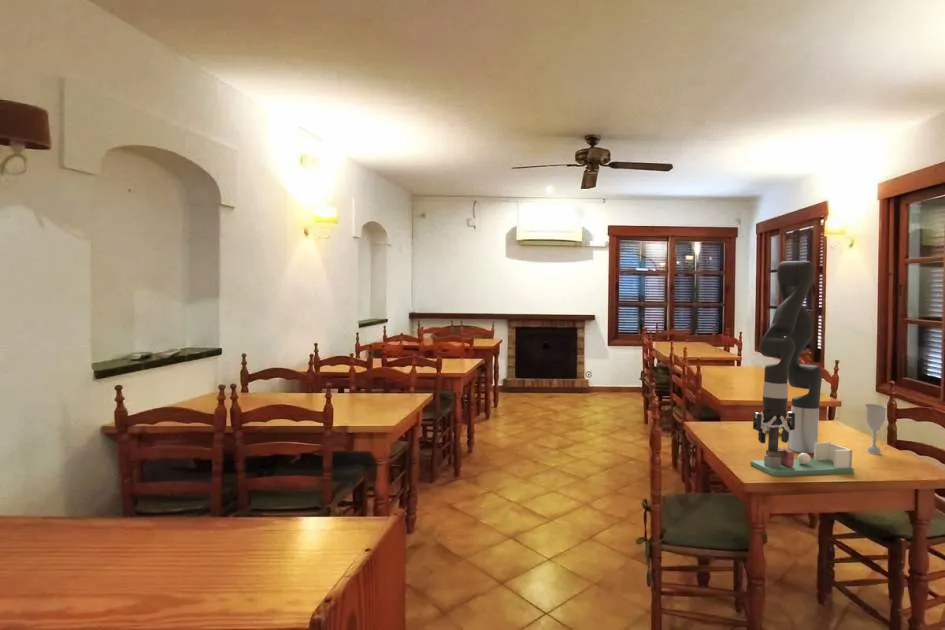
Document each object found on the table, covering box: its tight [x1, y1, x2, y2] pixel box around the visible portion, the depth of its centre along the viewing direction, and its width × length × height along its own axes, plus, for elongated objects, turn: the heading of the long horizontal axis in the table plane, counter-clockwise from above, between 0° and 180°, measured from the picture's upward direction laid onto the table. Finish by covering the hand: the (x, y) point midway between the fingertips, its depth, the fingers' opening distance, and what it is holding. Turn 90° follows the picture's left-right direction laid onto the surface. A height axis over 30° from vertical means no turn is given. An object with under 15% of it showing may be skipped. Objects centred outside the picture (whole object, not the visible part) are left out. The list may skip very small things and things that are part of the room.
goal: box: [813, 441, 853, 468], centre depth 197 cm, size 10×6×6 cm, turn 9°
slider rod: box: [765, 426, 795, 467], centre depth 193 cm, size 5×8×13 cm, turn 99°
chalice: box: [864, 403, 888, 455], centre depth 216 cm, size 7×7×18 cm
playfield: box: [749, 454, 855, 477], centre depth 195 cm, size 12×30×5 cm, turn 99°
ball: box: [796, 452, 811, 465], centre depth 195 cm, size 4×4×4 cm
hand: (773, 442), depth 193 cm, fingers open, 8 cm apart
